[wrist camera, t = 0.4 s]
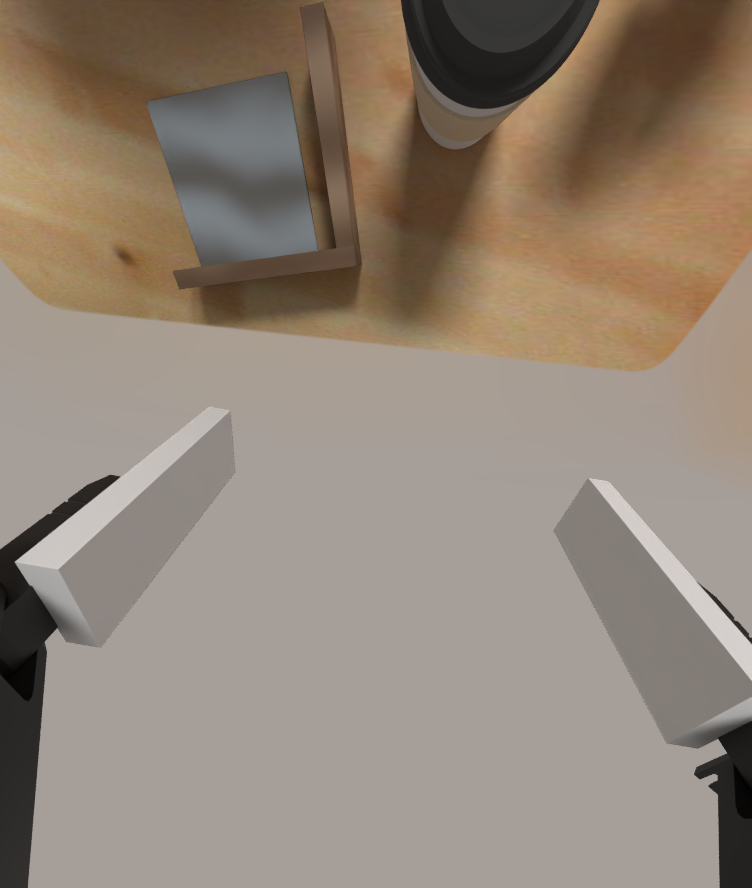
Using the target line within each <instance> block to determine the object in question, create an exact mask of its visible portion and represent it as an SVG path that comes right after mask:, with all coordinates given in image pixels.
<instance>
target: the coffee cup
mask: <svg viewBox="0 0 752 888" xmlns="http://www.w3.org/2000/svg"><path fill="white" fill-rule="evenodd" d="M599 1H600V0H401V4H402V11H403V18H404V23H405V27H406V37H407V44H408V51H409V57H410V64H411V70H412V77H413V83H414V90H415V94H416V98H417V102H418V109H419V114H420V118H421V121H422V123H423V126H424V128H425V130H426V131H427V133H428V134H429V136H430V137H431V138H432V139H433V140H434V141H435V142H436V143H437V144H439V145H441V146H443V147H445V148H448V149H463V148H466V147H469V146H471V145H473V144H475V143H476V142H478V141H479V140H480V139H481V138H482V137H483V136H485V135H486V134H488V133H489V132H491V131H492V130H494V129H495V128H496V127H497V126H498V125H499V124H500V123H501V122H502V121H503V120H505V119H506V118H507V117H508V116H509V115H510V114H511V113H512V112H513V111H514V110H515V109H516V108H517V107H518V106H519V105H521V104H522V103H523V102H524V101H525V100H526V99H527V98H528V97H529V96H530V95H531V94H532V93H533V92H534V91H535V90H536V89H538V88H539V87H540V86H541V85H543V84H544V83H545V82H546V81H547V80H548V79H549V78H550V77H551V76H552V75H553V74H554V73H555V72H556V71H557V70H558V69H559V68H560V67H561V65H562V64H563V63H564V62H565V61H566V59H567V58H568V57H569V55H570V54H571V53H572V51H573V50H574V48H575V47H576V45H577V44H578V42H579V41H580V39H581V37H582V36H583V34H584V32H585V30H586V28H587V27H588V25H589V23H590V21H591V19H592V17H593V15H594V12H595V10H596V8H597V6H598V3H599Z"/></svg>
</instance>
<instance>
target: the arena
mask: <svg viewBox="0 0 752 888" xmlns="http://www.w3.org/2000/svg"><path fill="white" fill-rule="evenodd" d="M300 11H301V17H302V24H303V31H304V37H305V44H306V50H307V57H308V64H309V70H310V77H311V83H312V90H313V97H314V103H315V110H316V116H317V123H318V130H319V136H320V143H321V149H322V156H323V163H324V169H325V176H326V182H327V189H328V196H329V202H330V209H331V215H332V222H333V229H334V235H335V242H336V248H334V249H327V250H320V251H318V245H317V239H316V234H315V228H314V222H313V217H312V211H311V205H310V200H309V194H308V188H307V183H306V177H305V171H304V165H303V160H302V154H301V148H300V143H299V137H298V131H297V126H296V120H295V114H294V109H293V103H292V97H291V92H290V86H289V80H288V75H287V72H282V73H278V74H273V75H268V76H264V77H259V78H254V79H250V80H245V81H240V82H236V83H231V84H226V85H222V86H217V87H212V88H208V89H203V90H198V91H194V92H189V93H184V94H180V95H175V96H170V97H166V98H161V99H157V100H152V101H147V102H146V104H147V107H148V110H149V113H150V116H151V119H152V122H153V125H154V128H155V131H156V134H157V137H158V140H159V143H160V146H161V149H162V151H163V154H164V157H165V160H166V163H167V166H168V169H169V172H170V175H171V178H172V181H173V184H174V187H175V190H176V193H177V196H178V198H179V201H180V204H181V207H182V210H183V213H184V216H185V219H186V222H187V225H188V228H189V231H190V234H191V237H192V240H193V243H194V245H195V248H196V251H197V254H198V257H199V260H200V263H201V266H202V267H198V268H191V269H184V270H176V271H173V273H174V276H175V279H176V281H177V284H178V287H179V289H185V288H193V287H200V286H208V285H215V284H223V283H231V282H238V281H246V280H253V279H261V278H269V277H276V276H284V275H292V274H299V273H307V272H314V271H322V270H330V269H337V268H345V267H352V266H358V265H362V262H361V254H360V246H359V237H358V229H357V221H356V212H355V204H354V196H353V188H352V179H351V171H350V163H349V154H348V146H347V138H346V129H345V121H344V113H343V104H342V96H341V88H340V79H339V71H338V63H337V55H336V46H335V38H334V35H333V32H332V29H331V26H330V23H329V20H328V17H327V14H326V11H325V8H324V5H323V2H321V3H317V4H313V5H309V6H305V7H300Z"/></svg>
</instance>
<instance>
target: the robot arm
mask: <svg viewBox="0 0 752 888" xmlns="http://www.w3.org/2000/svg"><path fill="white" fill-rule="evenodd" d="M234 464H235V463H234V451H233V436H232V424H231V411H230V410H225V409H220V408H214V407H208V408H207V409H205V410H204V411H203V412H202V413H200V414H199V415H198V416H197V417H195V418H194V419H193V420H192V421H190V422H189V423H188V424H187V425H185V426H184V427H183V428H182V429H180V430H179V431H178V432H177V433H175V434H174V435H173V436H172V437H170V438H169V439H168V440H167V441H165V442H164V443H163V444H162V445H160V446H159V447H158V448H157V449H155V450H154V451H153V452H152V453H150V454H149V455H148V456H147V457H145V458H144V459H143V460H142V461H140V462H139V463H138V464H137V465H135V466H134V467H133V468H132V469H130V470H129V471H128V472H127V473H125V474H124V475H123V476H122V477H119V476H114V475H109V476H107V477H105V478H102V479H100V480H98V481H95V482H93V483H91V484H88V485H87V486H85V487H84V488H83V489H81V490H80V491H78V493H76V494H75V495H73V496H72V497H70V498H69V499H68V502H64V503H62V504H61V505H60V506H58V507H57V508H55V509H54V510H53V511H52V513H51V514H47V515H46V516H45V517H44V518H42V519H41V520H39V521H38V522H37V523H35V524H34V525H33V526H31V527H30V528H28V529H27V530H26V531H24V532H23V533H22V534H21V535H19V536H18V537H16V538H15V539H14V540H12V541H11V542H10V543H8V544H7V545H5V546H4V547H3V548H2V549H0V888H28V876H29V864H30V852H31V840H32V827H33V815H34V803H35V791H36V779H37V766H38V753H39V741H40V730H41V717H42V705H43V693H44V681H45V669H46V657H47V651H46V646H45V643H44V642H45V641H46V640H47V638H48V637H49V636H50V635H51V634H52V633H53V632H54V631H55V630H56V628H58V630H59V631H60V633H61V634H62V636H63V637H64V639H65V640H66V642H70V643H76V644H82V645H88V646H94V647H100V648H101V647H102V646H103V644H104V643H105V642H106V640H107V639H108V638H109V637H110V635H111V634H112V633H113V631H114V630H115V628H116V627H117V626H118V625H119V623H120V622H121V621H122V619H123V618H124V617H125V615H126V614H127V613H128V612H129V610H130V609H131V608H132V606H133V605H134V604H135V602H136V601H137V600H138V599H139V597H140V596H141V595H142V593H143V592H144V591H145V589H146V588H147V587H148V585H149V584H150V583H151V582H152V580H153V579H154V578H155V576H156V575H157V574H158V572H159V571H160V570H161V568H162V567H163V566H164V564H165V563H166V562H167V561H168V559H169V558H170V557H171V555H172V554H173V553H174V551H175V550H176V549H177V547H178V546H179V545H180V543H181V542H182V541H183V540H184V538H185V537H186V536H187V534H188V533H189V532H190V530H191V529H192V528H193V526H194V525H195V524H196V523H197V521H198V520H199V519H200V517H201V516H202V515H203V513H204V512H205V511H206V510H207V508H208V507H209V506H210V504H211V503H212V502H213V500H214V499H215V498H216V496H217V495H218V494H219V492H220V491H221V490H222V488H223V487H224V486H225V485H226V483H227V482H228V481H229V479H230V478H231V477H232V475H233V474H234V473H235V465H234ZM554 532H555V534H556V536H557V538H558V540H559V542H560V543H561V545H562V547H563V549H564V551H565V553H566V555H567V557H568V559H569V560H570V562H571V564H572V566H573V568H574V570H575V572H576V574H577V576H578V577H579V579H580V581H581V583H582V585H583V587H584V589H585V591H586V592H587V594H588V596H589V598H590V600H591V602H592V604H593V606H594V608H595V609H596V611H597V613H598V615H599V617H600V619H601V621H602V623H603V625H604V626H605V628H606V630H607V632H608V634H609V636H610V638H611V640H612V642H613V643H614V645H615V647H616V649H617V651H618V653H619V654H620V656H621V658H622V660H623V662H624V664H625V666H626V668H627V669H628V672H629V674H630V675H631V677H632V679H633V681H634V683H635V685H636V687H637V689H638V690H639V692H640V694H641V696H642V698H643V700H644V702H645V704H646V706H647V707H648V709H649V711H650V713H651V715H652V716H653V719H654V721H655V723H656V724H657V726H658V728H659V730H660V732H661V734H662V736H663V738H664V739H665V741H666V743H668V744H674V745H680V746H686V747H692V748H700V747H702V746H704V745H706V744H708V743H710V742H712V741H714V740H716V739H719V741H720V742H721V744H722V746H723V747H724V749H725V750H726V752H727V754H725V755H722V756H720V757H718V758H716V759H714V760H711V761H709V762H707V763H705V764H703V765H700V766H698V767H697V768H696V770H695V773H694V775H695V776H696V777H698V778H699V779H702V778H704V777H707V776H709V775H712V774H716V775H718V781H715V782H713V783H711V784H710V785H709V787H710V788H711V789H712V790H713V791H714V792H716V793H717V794H718V817H719V875H720V888H752V638H750V637H749V633H747V631H746V630H745V629H744V628H743V627H742V626H741V624H740V623H739V622H738V621H734V617H733V616H732V615H731V613H730V612H729V611H728V610H727V609H726V608H725V607H724V606H723V604H722V603H721V602H720V601H719V600H718V599H717V598H716V597H715V596H714V595H713V594H711V593H710V592H709V591H708V590H706V589H705V588H704V587H703V586H702V585H700V584H699V583H698V582H696V580H695V579H694V578H693V577H692V576H691V575H690V574H689V573H688V572H687V570H686V569H685V568H684V567H683V566H682V565H681V563H680V562H678V560H677V559H676V558H675V557H674V556H673V554H672V553H671V552H670V551H669V550H668V549H667V548H666V546H665V545H664V544H663V543H662V542H661V541H660V540H659V538H658V537H657V536H656V535H655V534H654V533H653V532H652V531H651V529H650V528H649V527H648V526H647V525H646V524H645V523H644V522H643V520H642V519H641V518H640V517H639V516H638V515H637V514H636V512H634V510H633V509H632V508H631V507H630V506H629V504H628V503H627V502H626V501H625V500H624V499H623V498H622V497H621V495H620V494H619V493H618V492H617V491H616V490H615V489H614V487H613V486H612V485H611V484H610V483H609V482H608V481H602V480H597V479H592V478H588V479H587V480H586V482H585V484H584V485H583V486H582V488H581V489H580V491H579V493H578V494H577V496H576V497H575V499H574V500H573V502H572V503H571V505H570V506H569V508H568V509H567V511H566V512H565V514H564V515H563V517H562V518H561V520H560V522H559V523H558V524H557V526H556V528H555V529H554Z"/></svg>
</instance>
